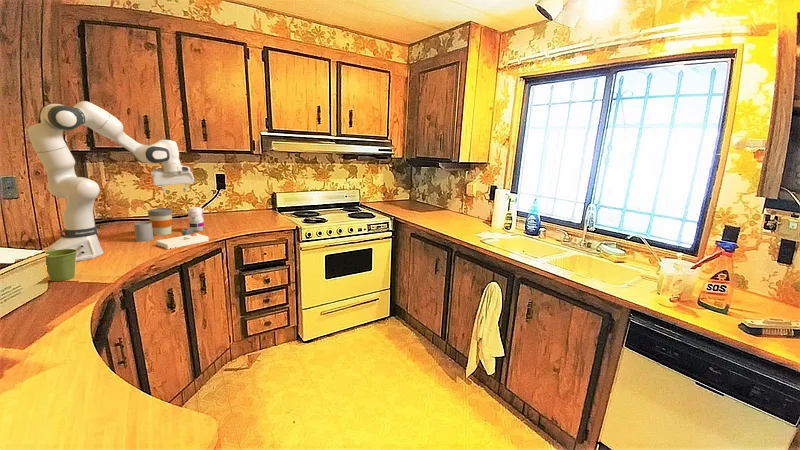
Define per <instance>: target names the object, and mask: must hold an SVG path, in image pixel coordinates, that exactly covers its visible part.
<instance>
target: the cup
mask: <svg viewBox="0 0 800 450" xmlns="http://www.w3.org/2000/svg"><path fill="white" fill-rule="evenodd" d="M133 227H134V228H133V229H134V234H135V241H136V242H138V243H140V242H141V243H143V242H150V240H151V241H153V240H155V238H154V232H153V228H152V223H151V222H150V221H137V222H134V223H133Z"/></svg>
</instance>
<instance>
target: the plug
mask: <svg viewBox="0 0 800 450" xmlns="http://www.w3.org/2000/svg"><path fill="white" fill-rule="evenodd" d="M193 233H194V232H193V230H191V229H190V228H188V227H184V229H181V236H185V235H190V234H193Z"/></svg>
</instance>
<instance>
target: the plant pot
mask: <svg viewBox="0 0 800 450" xmlns="http://www.w3.org/2000/svg"><path fill="white" fill-rule="evenodd" d="M44 252H45V253H46V254H49V255H48V256H47V257H46V265H47V270H46V272H47V275H48V277H49V279H50V281H51V282H61V281H68V280H70V279H73V278H74V277H75V275H76V261H75V259H76V253H77V252H78V250H77V249H59V250H52V251H48V250H47V251H44Z"/></svg>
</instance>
